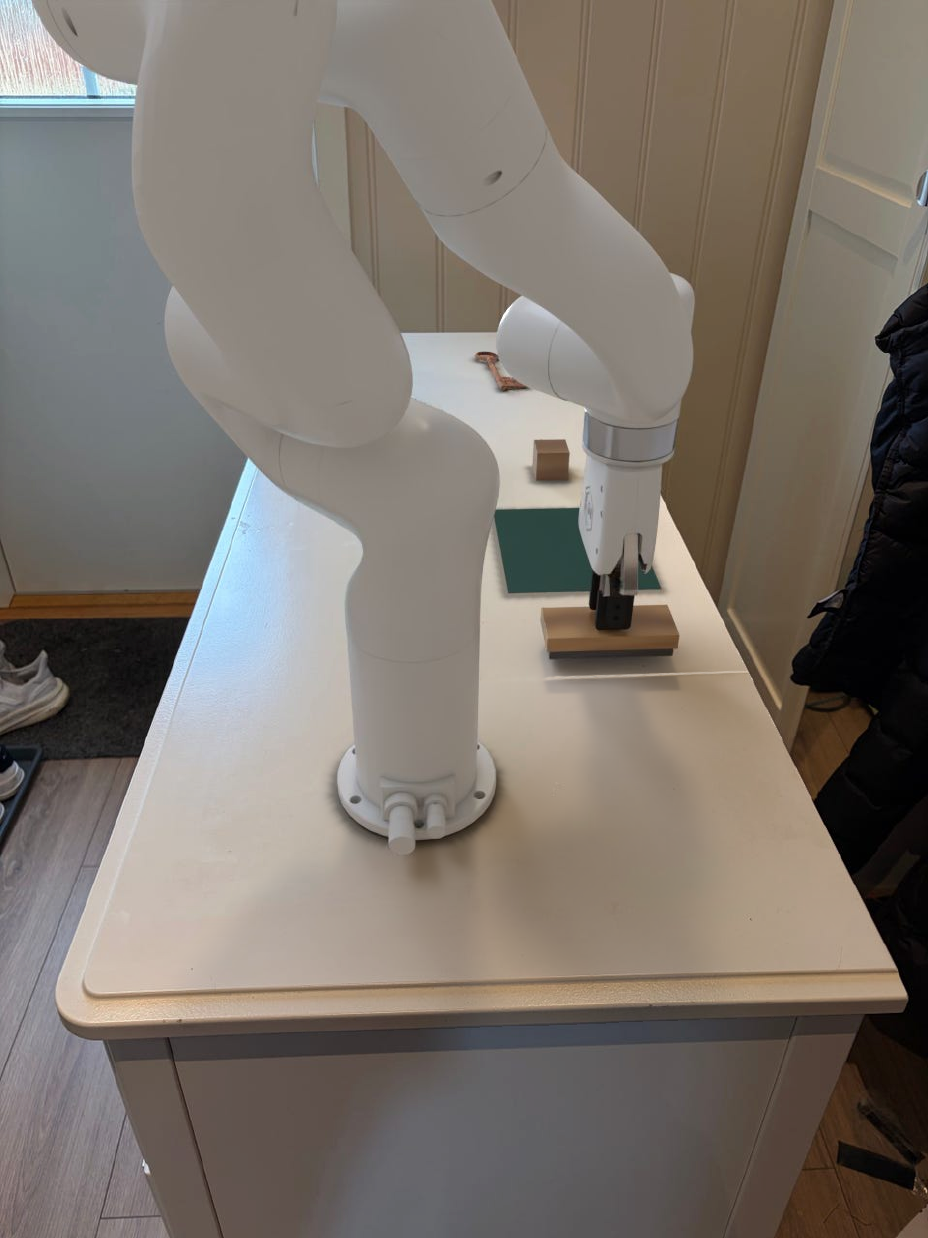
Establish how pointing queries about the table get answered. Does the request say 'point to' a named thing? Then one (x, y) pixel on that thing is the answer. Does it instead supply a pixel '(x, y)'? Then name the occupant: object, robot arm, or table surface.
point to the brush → (608, 633)
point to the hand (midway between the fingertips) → (609, 616)
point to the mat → (548, 552)
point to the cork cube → (550, 459)
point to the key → (500, 380)
